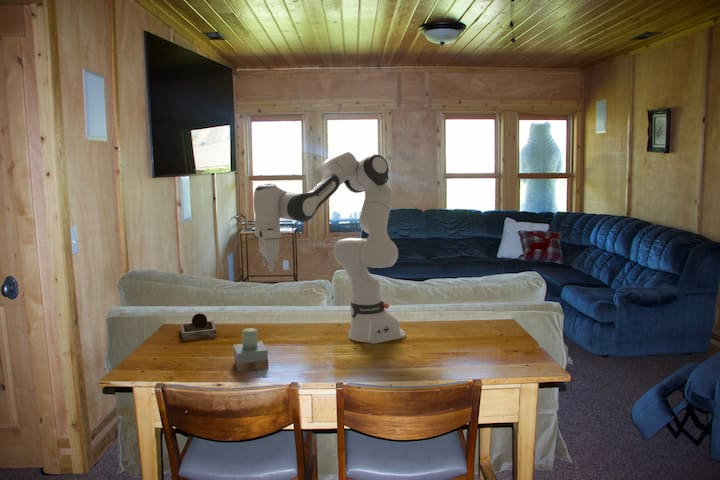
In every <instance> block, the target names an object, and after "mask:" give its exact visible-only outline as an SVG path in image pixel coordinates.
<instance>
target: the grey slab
mask: <svg viewBox="0 0 720 480" xmlns="http://www.w3.org/2000/svg"><path fill="white" fill-rule="evenodd" d="M232 348H233V349H232V351H233V356H234V360H235V359H236V361H237V363H238V364H244V363H251V362H258V361H265V360H268V361H269V355H268V349H267V347H266V346H265V344H264V343H263V341H262V340H261V341H257V348H256V349H254V350H245V349H243V343H238V344H233V345H232Z"/></svg>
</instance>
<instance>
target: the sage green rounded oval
mask: <svg viewBox="0 0 720 480" xmlns="http://www.w3.org/2000/svg"><path fill="white" fill-rule="evenodd" d="M241 335H242V337H241V338H242V343H241V344H243V349H245V350H254V349H256V348H257V342H258V329H256V328H253V327H252V328H251V327H250V328H244V329H242V331H241Z"/></svg>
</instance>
